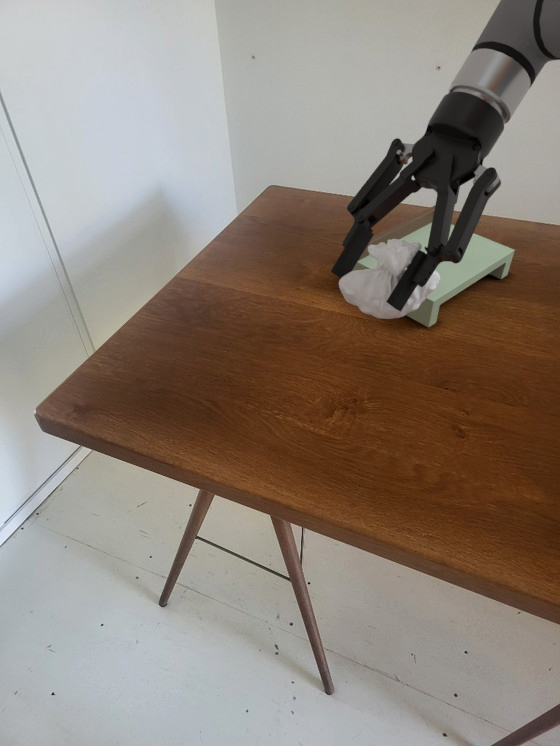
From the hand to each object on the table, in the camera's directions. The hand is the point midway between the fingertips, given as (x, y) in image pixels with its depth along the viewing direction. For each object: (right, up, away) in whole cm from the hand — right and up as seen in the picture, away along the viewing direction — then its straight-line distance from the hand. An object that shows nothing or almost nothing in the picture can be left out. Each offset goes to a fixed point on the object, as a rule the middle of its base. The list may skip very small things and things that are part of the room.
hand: (364, 290), depth 60 cm
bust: (+3, -2, +4) cm, 5 cm away
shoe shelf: (+16, +7, +31) cm, 36 cm away
